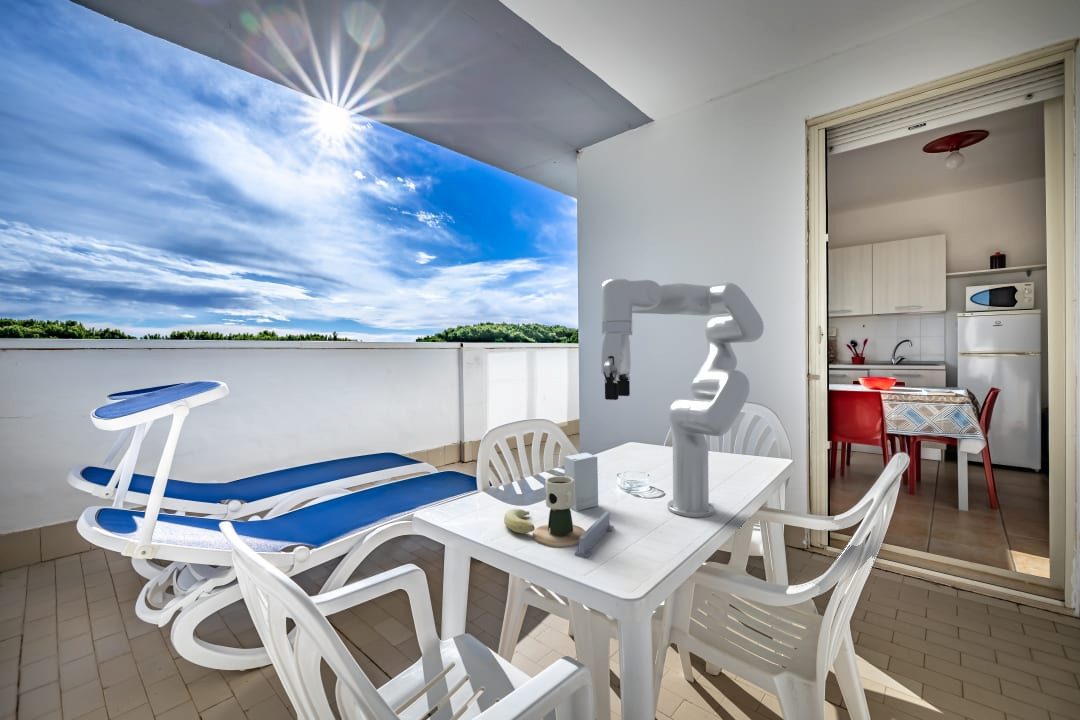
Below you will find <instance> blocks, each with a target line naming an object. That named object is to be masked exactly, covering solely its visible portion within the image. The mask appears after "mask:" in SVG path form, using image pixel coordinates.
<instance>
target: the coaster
mask: <svg viewBox="0 0 1080 720" xmlns="http://www.w3.org/2000/svg"><path fill="white" fill-rule="evenodd" d="M585 532H586V530H585V529H584V528H583V527H580V526H578V525H575V524H573V531H572V532H570V533H567V534H564V535H554V534H551V533H550V528H549V531H548V523H547V524H544V525H540V526H539V527H537V528H535V529H534V530H533V531H532V537H533V540H534V541H535V542H536V543H538V544H540V545H542V546H545V547H551V548H570V547H573V546H577V545H579V538H580V537H581V536H582V535H583V534H584V533H585Z"/></svg>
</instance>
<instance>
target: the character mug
mask: <svg viewBox="0 0 1080 720" xmlns="http://www.w3.org/2000/svg"><path fill="white" fill-rule="evenodd" d="M544 483H545V485H544V486H545V487H544V488H545V496H546V498H545V505H546V507H547V508H549V509H550V510H549V515H548V523H547V524H548V531H549V528H550V533H551V534H554V535H564V534H567V533H570V532H572V531H573V525H574V524H573V518H572V511H571V510H572V509H571V507H573V506H574V503H575V495H574V479H573V478H570V477H565V475H562V476H561V475H557V476H556V475H555V476H551V477H548V478H546V479H545V482H544Z"/></svg>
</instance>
